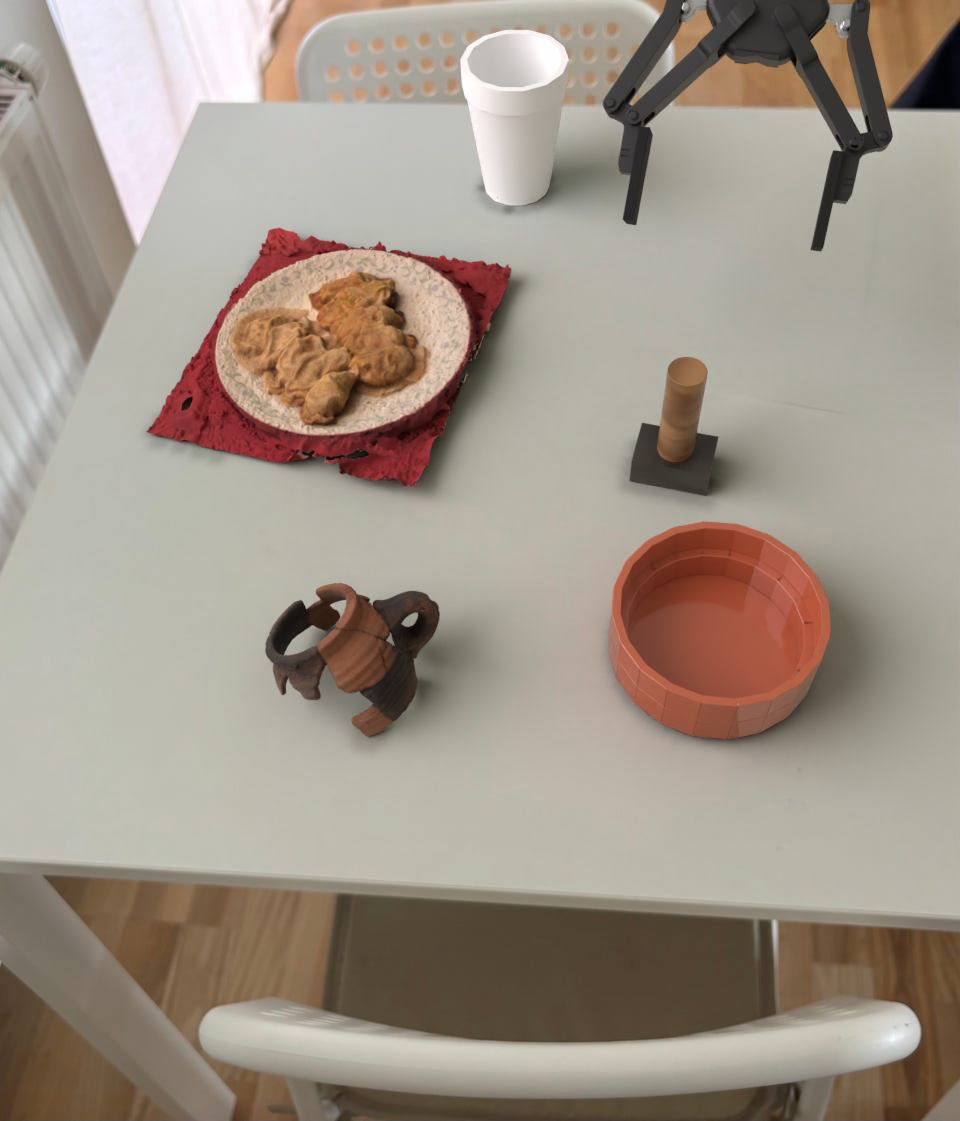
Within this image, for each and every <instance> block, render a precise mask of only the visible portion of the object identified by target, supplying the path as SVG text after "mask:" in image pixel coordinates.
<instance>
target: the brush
mask: <svg viewBox="0 0 960 1121" xmlns="http://www.w3.org/2000/svg"><path fill="white" fill-rule="evenodd" d="M708 375H709V372H708V368H707V366H706V364H705V363H704V361H701V360H700V359H698V358H697V357H692V356H680V357H678V358H675V359H673V361H671V362H670V363H669V364H668V367H667V370H666V378H665V386H664V394H663V400H662V407H661V415H660V422H659V425H658V424H652V423H646V422H642V423H640V424H641V425H640V427H639V432H638V434H637V435H638V436H637V439H636V443H635V446H634V450H633V454H632V457H631V462H630V471H629V481H630V482H634V483H639V484H644V485H649V486H655V487H659V488H664V489H670V490H675V491H679V492H685V493H689V494H695V495H700V496H704V497H705V496H707V492H708V488H709V484H710V480H711V479H710V478H711V475H712V470H713V466H714V462H715V461H714V460H715V455H716V452H717V446H718V442H719V436H717V435H711V434H707V433H700V432H698V430H699V429H698V428H699V423H700V417H701V414H702V408H703V402H704V396H705V391H706V385H707V380H708Z"/></svg>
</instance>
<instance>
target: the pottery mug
mask: <svg viewBox="0 0 960 1121" xmlns="http://www.w3.org/2000/svg"><path fill="white" fill-rule="evenodd" d="M315 595H316V596H317V597H318V598H319V600H317V601H315V602H313V603H312V604H311V605H310V606H308V607H306V604H305V602H304V601H303V600H302V599H299V600H295V601H294V602H293V603H291V604H290V605H289V606H288V607H287V608H286V609H285V610H283V612H282V613H281V614H280V615H279V616H278V618H277V619H276V620H275V622H274V623H273V625H272V626H271V629H270V631H269V634H268V636H267V638H266V641H265V648H264V651H265V652H264V653H265V656H266V658H267V659H268V660H269V661H270V662H271V663H272V673H273V676H274V681H275V684H276V687H277V689H278V691H279V693H280V695H281V696H285V695H286V694H287V683H288V682H289V684H290V685H291V688H293V689H294V690H295V691H297V692H299V693H300V694H301V697H302V698H303V699H304V700H307V701H319V700H320V699H321V697H322V696H321V695H322V694H321V691H320V688H319V686H320V682H321V679H322V678H321V677H322V675H323V672H324V670H325V668H326V666H327V668H328V670H329V672H330V673H331V676H332V679H333V680H334V682H335V685H336V688H337V689H338V690H339V691H341V692H343V693H346V694H349V695H350V694H354V693H355V694H356V693H358V692H359V693H360V695H361V696H363V697H364V698H365V699H366V700H368V701H369V702H370V703H372V704H371V705H370V706H369V707H368V708H367V709H364V710H363V711H362V712H360V713H358V714H356V715H354V716H352V717H351V723H352V726H353V727H354V728H355V729H357V730H359V731H360V732H361V734H362V735H364V736H365V737H367V738H368V737H369V738H370V737H372V736H375V735H377V734H379V733H380V732H382V731H384V730H385V729H387V728H388V727H389V726H390V725H392V724H393V723H394V722H395V721H397V720H398V719H399V718H400V717H401V716H402V715H403V713H405V712H406V711H407V709H408V708H409V706H410V704H411V703H412V702H413V701H414V698H415V696H416V692H417V688H418V677H417V673H416V666H415V660H416V659H417V657H418V655H419V653H420V651H422V650H423V648H424V647H425V646H427V644H428V643H429V642H430V641H431V640H432V638H433V637H434V636H435V633H436V631H437V628H438V625H439V623H440V617H441V616H440V614H441V613H440V607H439V604H438V602H436V601H435V600H432V598H430V596H429V595H428V594H427V593H425V592H423V591H420V590H408V591H407V590H406V591H404V592H403V591H402V592H400V593H398V594H396V595H393V596H392V597H389V598H386V599H375V600H373V602H372V603H371V602H370V600H371V598H370V597H368V596H366V595H363V594H359V593H357V591H356V590H355V589H354V588H353V587H352V586H351V585H349V584H346V583H342V582H339V583H338V582H333V583H328V584H325V585H321V586H319V587H317V588H316V589H315ZM341 601H346V602H345V608H344V612H343V613H342V615H341V614H340V612H339V611H338V610H337V609H335V608H334V607H332V606H331V605H333V604H335V603H338V602H341ZM412 614H417V618H416V620H415V622H414V623H413V624H412V625H410V626H405V625H403V624H402V623H403V622H404V621H405V619H407V617H409V616H411V615H412ZM334 626H335V628H333V627H334ZM311 627H315V628H316V629H319V630H323V631H325V632H328V631H330V632H329V633H327V635H325V637H324V638H322V639H321V640H320V641H319V642H317V643H316V644H315V645H314V646H311V647H309V648H307V649H305V650H303V651H301V652H298V653H294V654H293V653H292V654H285V653H286V651H287V649H288V647H289V645H290V644H291V643H292V641H293V640H294V639H295V638H296V637H297V636H299V635H301V634H302V633H303V632H305V631H306V630H308V629H309V628H311ZM332 628H333V629H332ZM331 629H332V630H331ZM390 635H391V639H392V642H393V643H391V642H390V641H387V640H388V639H389V637H390ZM414 659H415V660H414Z"/></svg>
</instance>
